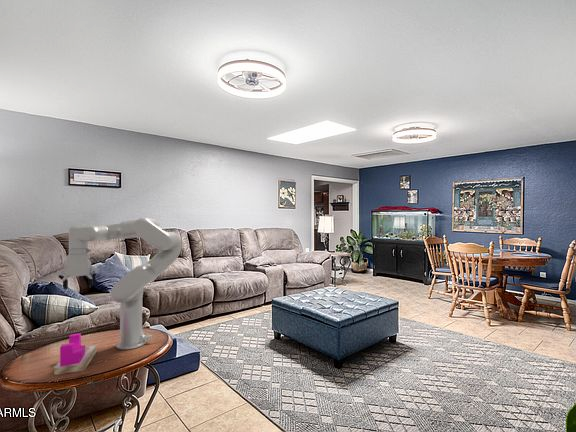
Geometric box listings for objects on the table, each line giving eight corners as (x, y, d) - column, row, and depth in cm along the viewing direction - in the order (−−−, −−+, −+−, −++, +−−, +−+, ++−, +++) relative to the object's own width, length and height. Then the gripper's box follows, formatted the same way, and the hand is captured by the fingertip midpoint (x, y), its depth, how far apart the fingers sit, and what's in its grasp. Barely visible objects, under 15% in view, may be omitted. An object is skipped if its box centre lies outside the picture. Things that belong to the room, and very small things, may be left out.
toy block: (79, 363, 123) (79, 344, 123) (60, 366, 121) (60, 346, 121) (87, 349, 137) (87, 332, 137) (70, 352, 135) (70, 334, 135)
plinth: (96, 352, 142) (96, 345, 142) (84, 370, 124) (84, 362, 124) (70, 355, 138) (70, 348, 138) (54, 375, 120) (54, 367, 120)
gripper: (100, 250, 156) (100, 285, 156) (58, 252, 150) (58, 288, 149) (97, 251, 149) (97, 287, 149) (54, 253, 143) (53, 291, 142)
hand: (78, 288), depth 149 cm, fingers open, 9 cm apart
